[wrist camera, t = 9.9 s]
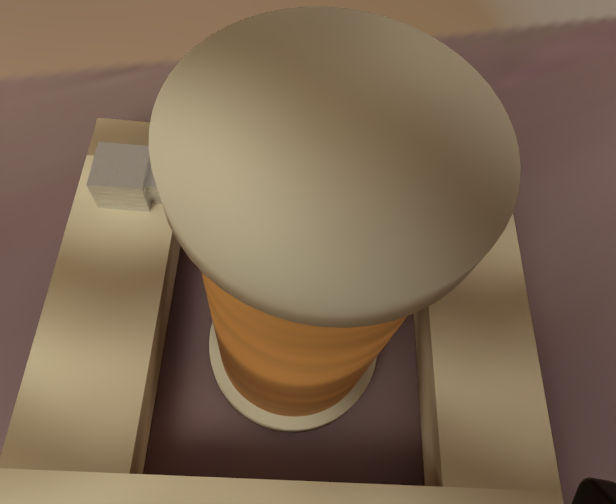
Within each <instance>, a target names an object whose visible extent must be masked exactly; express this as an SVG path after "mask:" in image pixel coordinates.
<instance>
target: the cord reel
mask: <svg viewBox="0 0 616 504" xmlns="http://www.w3.org/2000/svg"><path fill="white" fill-rule="evenodd" d="M148 148H149V156H150V163H151V169H152V173H153V176H154V179H155V182H156V186H157V189H158V192H159V195H160V199H161V202H162V205H163V208H164V211H165V215H166V218H167V221H168V223H169V225H170V227H171V229H172V231H173V233H174V235H175V238H176V240H177V241H178V243H179V244H180V246H181V247H182V249H183V250H184V251H185V253H186V254H187V256H188V257H189V259H190V260H191V261H192V262H193V263H194V264H195V265H196V266H197V267H198V268H199V269H200V270H201V272H202V277H203V281H204V285H205V290H206V294H207V299H208V303H209V307H210V312H211V316H212V320H213V322H212V326H211V330H210V337H209V354H210V360H211V365H212V368H213V372H214V375H215V378H216V381H217V383H218V385H219V388H220V390H221V392H222V393H223V395H224V396H225V398H226V399H227V401H228V402H229V403H230V404H231V405H232V406H233V407H234V409H236V410H237V411H238V412H239V413H240V414H241V415H242V416H244V417H245V418H247V419H248V420H250V421H251V422H253V423H255V424H258V425H260V426H262V427H265V428H268V429H271V430H275V431H281V432H305V431H310V430H314V429H318V428H320V427H323V426H325V425H328V424H330V423H331V422H333V421H335V420H337V419H338V418H340V417H341V416H342V415H343V414H345V413H346V412H347V411H348V410H349V409H350V408H351V407H352V406H353V405H354V404H355V403H356V402H357V400H358V399H359V398H360V397H361V395H362V394H363V392H364V391H365V390H366V388H367V386H368V384H369V382H370V380H371V378H372V375H373V372H374V369H375V365H376V360H377V356H378V354H379V353H380V352H381V350H382V349H383V348H384V346H385V345H386V344H387V343H388V341H389V340H390V339H391V337H392V336H393V335H394V333H395V332H396V331H397V329H398V328H399V327H400V325H401V324H402V323H403V321H404V320H405V319H406V318H407V316H409V315H411V314H414V313H417V312H419V311H421V310H423V309H424V308H426V307H428V306H430V305H432V304H434V303H436V302H437V301H439V300H440V299H441V298H443V297H444V296H445V295H447V294H448V293H449V292H451V291H452V290H454V289H455V288H456V287H457V286H458V285H459V284H460V283H461V282H462V281H463V280H464V279H465V278H466V277H467V276H468V275H469V273H470V272H471V271H472V270H473V269H474V268H475V267H476V266H477V264H478V263H479V262H480V261H481V260H482V259H483V258H484V256H485V255H486V254H487V253H488V252H489V251H490V250H491V249H492V247H493V246H494V244H495V243H496V242H497V240H498V239H499V237H500V236H501V235H502V233H503V232H504V230H505V228H506V226H507V224H508V222H509V220H510V218H511V216H512V214H513V211H514V208H515V204H516V201H517V197H518V194H519V186H520V177H521V167H520V153H519V148H518V143H517V139H516V135H515V132H514V129H513V127H512V124H511V121H510V118H509V116H508V114H507V113H506V111H505V109H504V107H503V105H502V103H501V101H500V100H499V98H498V97H497V95H496V94H495V93H494V91H493V90H492V88H491V87H490V85H489V84H488V83H487V82H486V81H485V80H484V78H483V77H482V76H481V75H480V74H479V73H478V72H477V71H476V70H475V69H474V68H473V67H472V66H471V65H470V64H469V63H468V62H467V61H465V60H464V59H463V58H462V57H461V56H460V55H458V54H457V53H456V52H454V51H453V50H452V49H450V48H449V47H447V46H446V45H445V44H443V43H442V42H440V41H438V40H436V39H435V38H433V37H431V36H430V35H428V34H426V33H424V32H422V31H420V30H418V29H416V28H413V27H412V26H409V25H407V24H404V23H402V22H399V21H396V20H394V19H391V18H388V17H384V16H381V15H377V14H373V13H370V12H364V11H359V10H353V9H348V8H337V7H298V8H287V9H281V10H275V11H270V12H265V13H262V14H258V15H255V16H252V17H248V18H245V19H243V20H240V21H238V22H236V23H233V24H231V25H228V26H227V27H225V28H223V29H221V30H219V31H217V32H216V33H214V34H212V35H210V36H209V37H208V38H206V39H205V40H204V41H202V42H201V43H199V44H198V45H196V46H195V47H194V48H193V49H192V50H191V51H190V52H189V53H188V54H187V55H186V56H184V57H183V58H182V59H181V61H180V62H179V63H178V64H177V66H176V67H175V68H174V69H173V71H172V72H171V73H170V74H169V76H168V78H167V79H166V81H165V83H164V85H163V86H162V88H161V90H160V92H159V94H158V97H157V100H156V102H155V105H154V107H153V111H152V116H151V121H150V126H149V147H148Z"/></svg>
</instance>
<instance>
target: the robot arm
mask: <svg viewBox="0 0 616 504" xmlns="http://www.w3.org/2000/svg"><path fill="white" fill-rule="evenodd" d="M572 504H616V483H614V482H612V481H607V480H601V479H595V478H585V479H583V480H582V481H581V482H580V484H579V486H578V489H577V491H576V494H575V496H574V499H573V501H572Z"/></svg>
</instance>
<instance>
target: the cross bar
mask: <svg viewBox="0 0 616 504" xmlns="http://www.w3.org/2000/svg"><path fill="white" fill-rule="evenodd" d="M148 147H149V146H145V145H133V144H120V143H108V142H98V145H97V148H96V152H95V155H94V159H93V163H92V166H91V170H90V173H89V177H88V181H87V184H86V185H87V187H88V189H89V191H90V193H91V195H92V197H93V199H94V201H95V203H96V205H97V207H98V208H104V209H118V210H131V211H145V212H150V209H151V204H152V203H154V204H162V202H161V199H160V195H159V192H158V189H157V186H156V182H155V179H154V176H153V173H152V169H151V163H150V156H149V148H148Z"/></svg>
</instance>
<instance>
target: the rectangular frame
mask: <svg viewBox="0 0 616 504" xmlns="http://www.w3.org/2000/svg"><path fill="white" fill-rule="evenodd" d="M149 126H150V122H140V121H128V120H117V119H105V118H97V122H96V125H95V129H94V132H93V136H92V139H91V143H90V146H89V150H88V153H87V157H86V160H85V163H84V167H83V170H82V174H81V177H80V181H79V184H78V188H77V191H76V195H75V198H74V202H73V205H72V209H71V212H70V216H69V219H68V223H67V226H66V230H65V233H64V237H63V240H62V244H61V247H60V251H59V254H58V258H57V261H56V265H55V268H54V271H53V275H52V278H51V282H50V285H49V289H48V292H47V296H46V299H45V303H44V306H43V310H42V313H41V317H40V320H39V324H38V327H37V331H36V334H35V338H34V341H33V345H32V348H31V352H30V355H29V359H28V362H27V366H26V369H25V372H24V376H23V379H22V383H21V386H20V390H19V393H18V397H17V400H16V404H15V407H14V411H13V414H12V418H11V421H10V425H9V428H8V432H7V435H6V439H5V442H4V446H3V449H2V453H1V456H0V504H564V501H563V496H562V490H561V484H560V479H559V473H558V467H557V461H556V456H555V450H554V444H553V439H552V433H551V427H550V421H549V416H548V410H547V404H546V399H545V393H544V387H543V381H542V376H541V370H540V364H539V359H538V353H537V347H536V341H535V336H534V330H533V324H532V319H531V313H530V307H529V301H528V296H527V290H526V284H525V279H524V273H523V267H522V261H521V256H520V250H519V244H518V239H517V233H516V227H515V221H514V216H513V214H512V216H511V218H510V220H509V222H508V224H507V226H506V228H505V230H504V232H503V233H502V235H501V236H500V237H499V239H498V240H497V242H496V243H495V244H494V246H493V247H492V249H491V250H490V251H489V252H488V253H487V254H486V255H485V256H484V258H483V259H482V260H481V261H480V262H479V263H478V264H477V266H476V267H475V268H474V269H473V270H472V271H471V272H470V273H469V275H468V276H467V277H466V278H465V279H464V280H463V281H462V282H461V283H460V284H459V285H458V286H457V287H456V288H455V289H454V290H452V291H451V292H449V293H448V294H447V295H445V296H444V297H443V298H441V299H440V300H439V301H437V302H436V303H434V304H432V305H430V306H428V307H426V308H424V309H423V310H421V311H419V312H417V313H414V326H415V341H416V357H417V372H418V388H419V403H420V419H421V434H422V450H423V465H424V481H425V486H412V485H388V484H364V483H340V482H316V481H292V480H269V479H245V478H221V477H197V476H173V475H149V474H143V470H144V464H145V458H146V452H147V446H148V440H149V434H150V428H151V421H152V415H153V409H154V403H155V397H156V391H157V385H158V379H159V373H160V367H161V361H162V355H163V349H164V343H165V337H166V331H167V325H168V319H169V313H170V307H171V301H172V295H173V289H174V283H175V277H176V271H177V265H178V259H179V253H180V247H181V246H180V244H179V243H178V241H177V240H176V238H175V235H174V233H173V231H172V229H171V227H170V225H169V223H168V221H167V218H166V215H165V211H164V208H163V205H162V204H154V203H152V204H151V209H150V212H145V211H131V210H118V209H104V208H98V207H97V205H96V203H95V201H94V199H93V197H92V195H91V193H90V191H89V189H88V187H87V185H86V184H87V181H88V177H89V173H90V170H91V166H92V163H93V159H94V155H95V152H96V148H97V145H98V142H108V143H120V144H133V145H145V146H149Z"/></svg>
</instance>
